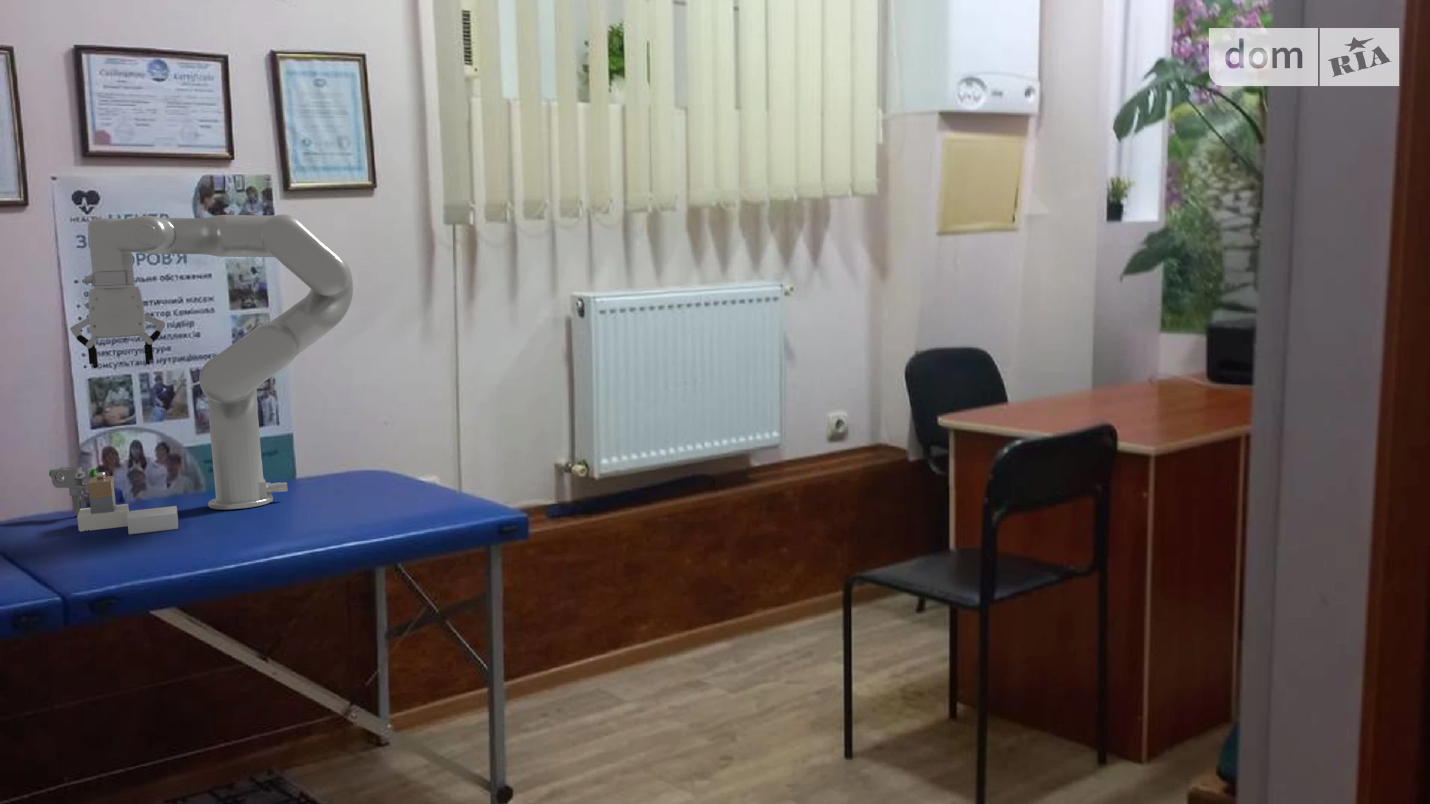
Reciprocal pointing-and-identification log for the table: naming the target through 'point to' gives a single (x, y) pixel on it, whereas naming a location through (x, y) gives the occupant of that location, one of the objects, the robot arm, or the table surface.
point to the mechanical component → (72, 482)
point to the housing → (101, 494)
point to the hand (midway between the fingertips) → (122, 365)
